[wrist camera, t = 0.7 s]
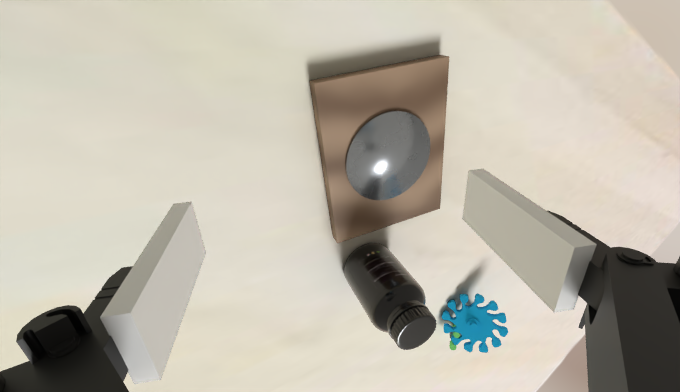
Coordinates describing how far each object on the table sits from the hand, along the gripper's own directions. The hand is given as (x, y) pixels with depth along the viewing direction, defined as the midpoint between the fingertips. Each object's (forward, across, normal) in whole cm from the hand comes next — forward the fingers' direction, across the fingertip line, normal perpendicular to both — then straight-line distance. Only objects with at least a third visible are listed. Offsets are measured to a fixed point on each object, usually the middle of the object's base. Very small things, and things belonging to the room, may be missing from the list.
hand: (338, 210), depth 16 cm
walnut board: (+20, +8, -4) cm, 22 cm away
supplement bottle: (+21, +6, -20) cm, 29 cm away
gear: (+26, +23, -36) cm, 50 cm away
